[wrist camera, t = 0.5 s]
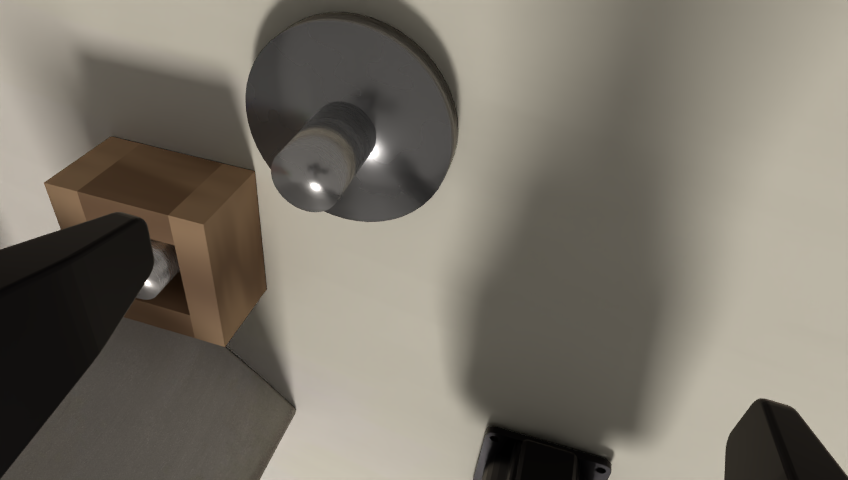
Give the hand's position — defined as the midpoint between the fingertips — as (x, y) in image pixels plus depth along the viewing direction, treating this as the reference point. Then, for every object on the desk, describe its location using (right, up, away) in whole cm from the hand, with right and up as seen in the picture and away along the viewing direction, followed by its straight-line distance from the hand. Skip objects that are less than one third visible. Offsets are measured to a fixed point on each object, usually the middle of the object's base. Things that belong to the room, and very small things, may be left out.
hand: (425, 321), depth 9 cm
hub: (-3, +6, +14) cm, 16 cm away
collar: (-11, +2, +20) cm, 23 cm away
